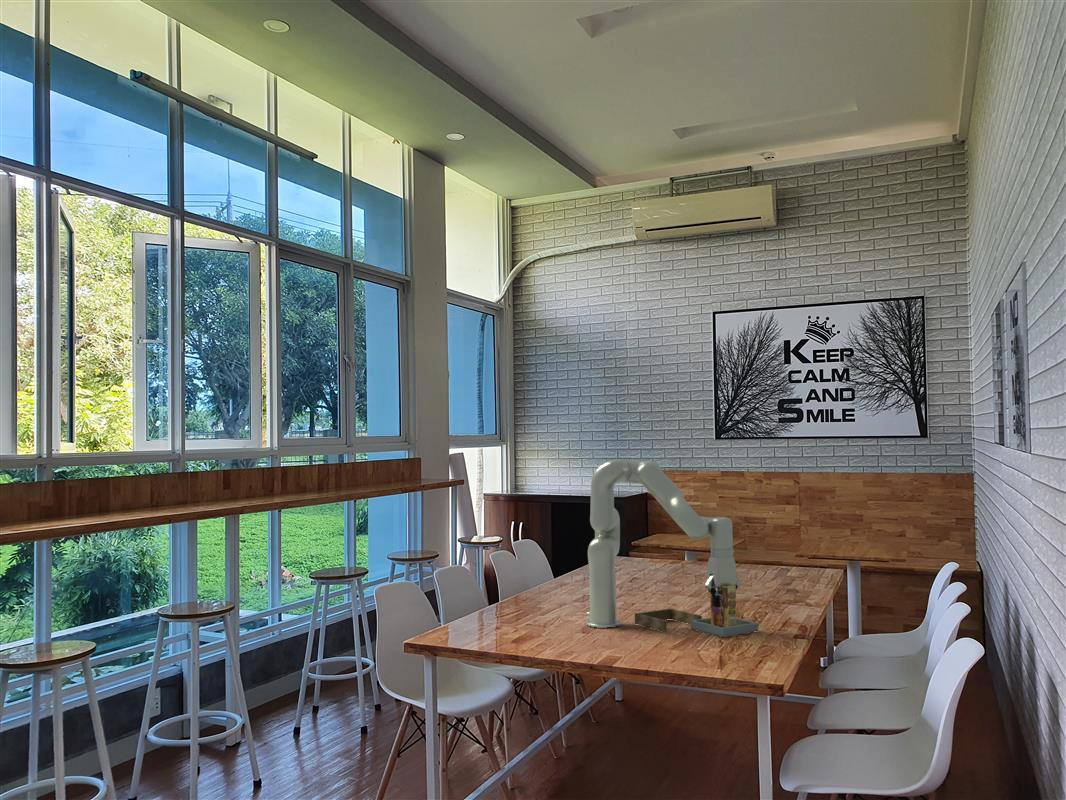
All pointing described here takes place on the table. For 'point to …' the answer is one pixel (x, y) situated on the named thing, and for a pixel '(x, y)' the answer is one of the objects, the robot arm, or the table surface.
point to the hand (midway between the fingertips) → (723, 605)
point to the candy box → (725, 607)
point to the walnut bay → (663, 618)
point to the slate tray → (740, 628)
